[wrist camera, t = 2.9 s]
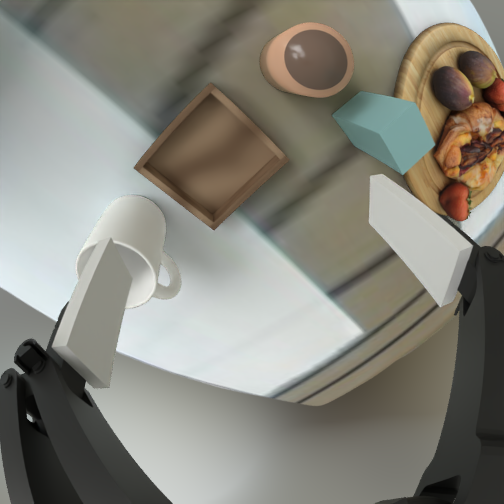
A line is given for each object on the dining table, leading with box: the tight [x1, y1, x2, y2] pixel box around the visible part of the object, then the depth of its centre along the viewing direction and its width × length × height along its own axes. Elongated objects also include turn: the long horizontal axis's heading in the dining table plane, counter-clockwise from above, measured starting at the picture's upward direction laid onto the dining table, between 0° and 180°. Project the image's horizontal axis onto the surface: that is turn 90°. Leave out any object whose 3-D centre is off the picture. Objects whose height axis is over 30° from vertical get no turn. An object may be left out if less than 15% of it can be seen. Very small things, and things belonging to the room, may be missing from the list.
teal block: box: [332, 91, 435, 175], centre depth 24 cm, size 5×5×10 cm
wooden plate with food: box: [393, 23, 504, 221], centre depth 26 cm, size 32×32×8 cm
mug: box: [76, 195, 181, 309], centre depth 29 cm, size 12×8×10 cm
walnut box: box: [134, 83, 289, 230], centre depth 28 cm, size 11×11×2 cm
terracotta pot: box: [260, 23, 354, 98], centre depth 21 cm, size 7×7×7 cm
